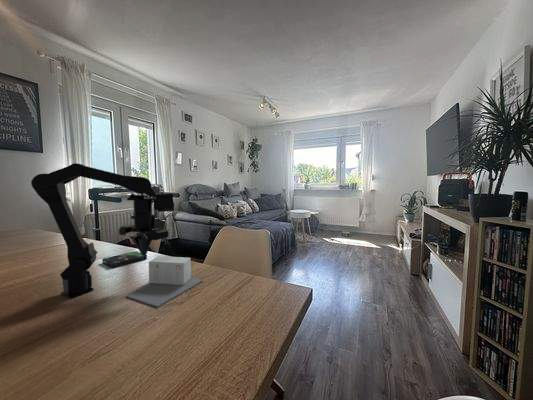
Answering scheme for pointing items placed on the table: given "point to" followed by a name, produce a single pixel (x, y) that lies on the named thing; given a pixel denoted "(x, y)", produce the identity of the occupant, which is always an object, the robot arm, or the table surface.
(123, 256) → the disk drive
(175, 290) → the mat
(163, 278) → the small box
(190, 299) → the table surface
